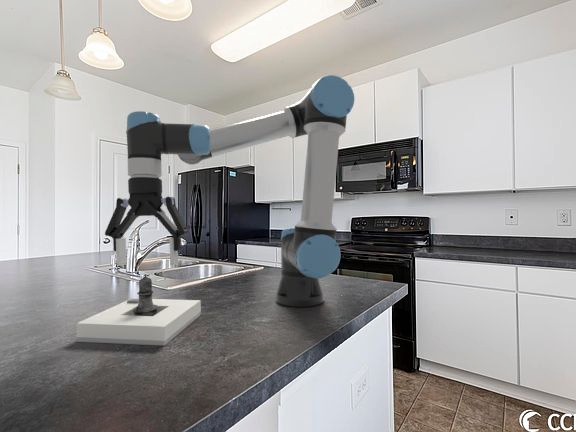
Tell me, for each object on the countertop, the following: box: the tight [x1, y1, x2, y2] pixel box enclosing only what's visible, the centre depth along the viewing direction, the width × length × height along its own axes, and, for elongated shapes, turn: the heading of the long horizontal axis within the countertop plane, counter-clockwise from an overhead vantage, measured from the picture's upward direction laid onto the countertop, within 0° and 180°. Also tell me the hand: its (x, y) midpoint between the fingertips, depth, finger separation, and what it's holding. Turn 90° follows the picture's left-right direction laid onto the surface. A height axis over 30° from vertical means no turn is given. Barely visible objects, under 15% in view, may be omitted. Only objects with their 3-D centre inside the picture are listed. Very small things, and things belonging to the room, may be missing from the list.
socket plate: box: [76, 297, 202, 346], centre depth 77 cm, size 20×20×5 cm
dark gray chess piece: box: [132, 273, 158, 316], centre depth 77 cm, size 6×6×12 cm
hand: (147, 264), depth 77 cm, fingers open, 13 cm apart
